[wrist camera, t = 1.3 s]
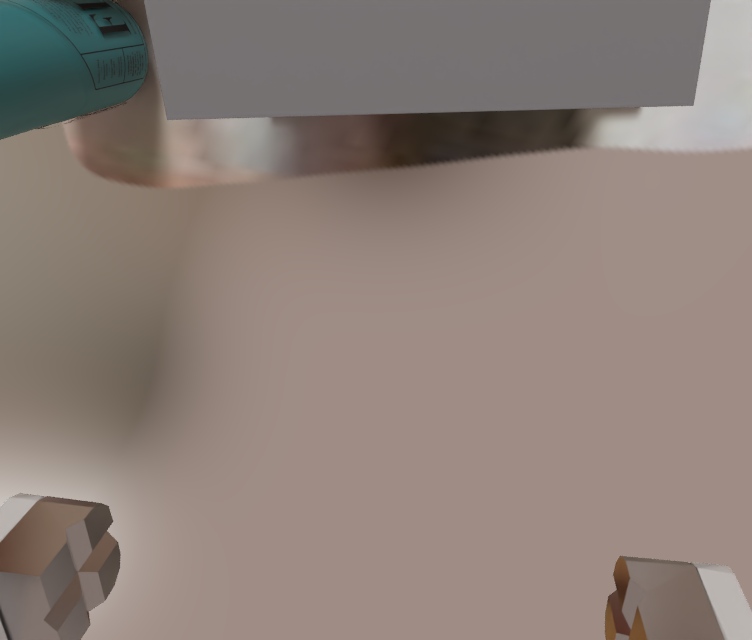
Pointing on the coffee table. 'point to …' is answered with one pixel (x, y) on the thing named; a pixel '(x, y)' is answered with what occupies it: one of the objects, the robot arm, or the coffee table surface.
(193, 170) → the coffee table surface
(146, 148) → the coffee table surface
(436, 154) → the coffee table surface
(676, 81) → the block
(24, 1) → the beverage bottle
